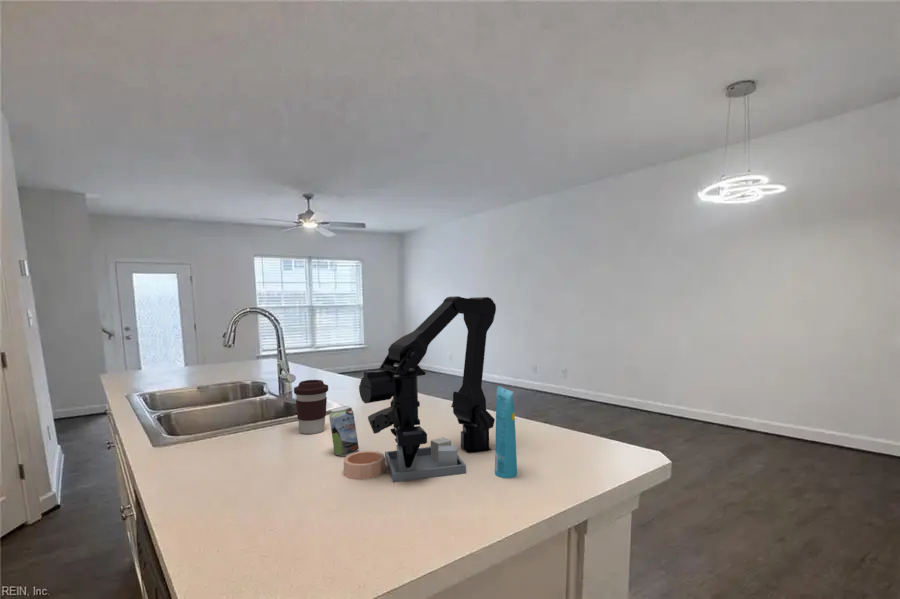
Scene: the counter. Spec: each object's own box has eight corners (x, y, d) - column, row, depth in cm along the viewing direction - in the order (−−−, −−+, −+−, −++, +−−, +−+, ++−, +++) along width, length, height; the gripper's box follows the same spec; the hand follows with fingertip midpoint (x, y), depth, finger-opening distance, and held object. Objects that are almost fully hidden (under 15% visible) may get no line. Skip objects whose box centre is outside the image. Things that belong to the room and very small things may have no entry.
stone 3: (457, 465, 102) (456, 445, 102) (457, 471, 98) (457, 450, 98) (439, 465, 102) (438, 445, 102) (438, 471, 98) (438, 451, 98)
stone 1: (413, 464, 103) (413, 442, 103) (416, 469, 100) (416, 447, 100) (396, 466, 102) (396, 444, 102) (399, 471, 99) (398, 449, 99)
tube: (524, 479, 94) (523, 390, 94) (505, 484, 92) (504, 392, 92) (505, 468, 101) (504, 384, 101) (487, 472, 99) (486, 386, 99)
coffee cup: (310, 438, 126) (309, 385, 126) (287, 433, 131) (286, 382, 131) (335, 429, 135) (335, 380, 135) (313, 424, 140) (313, 377, 140)
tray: (449, 453, 111) (449, 444, 111) (466, 475, 97) (465, 464, 97) (385, 461, 107) (385, 451, 107) (393, 484, 93) (392, 473, 93)
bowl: (382, 463, 105) (381, 449, 105) (386, 478, 96) (386, 462, 96) (343, 468, 103) (343, 453, 103) (344, 483, 94) (344, 467, 94)
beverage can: (352, 459, 108) (351, 411, 108) (325, 458, 110) (324, 410, 110) (362, 451, 114) (362, 405, 114) (336, 449, 116) (335, 404, 116)
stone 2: (443, 455, 109) (443, 437, 109) (451, 458, 106) (451, 440, 106) (430, 458, 107) (430, 440, 107) (438, 462, 104) (438, 443, 104)
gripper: (366, 391, 108) (367, 454, 108) (373, 408, 90) (375, 485, 90) (411, 387, 111) (412, 449, 111) (427, 404, 93) (428, 478, 93)
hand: (406, 464), depth 101 cm, fingers closed on stone 1, 4 cm apart
